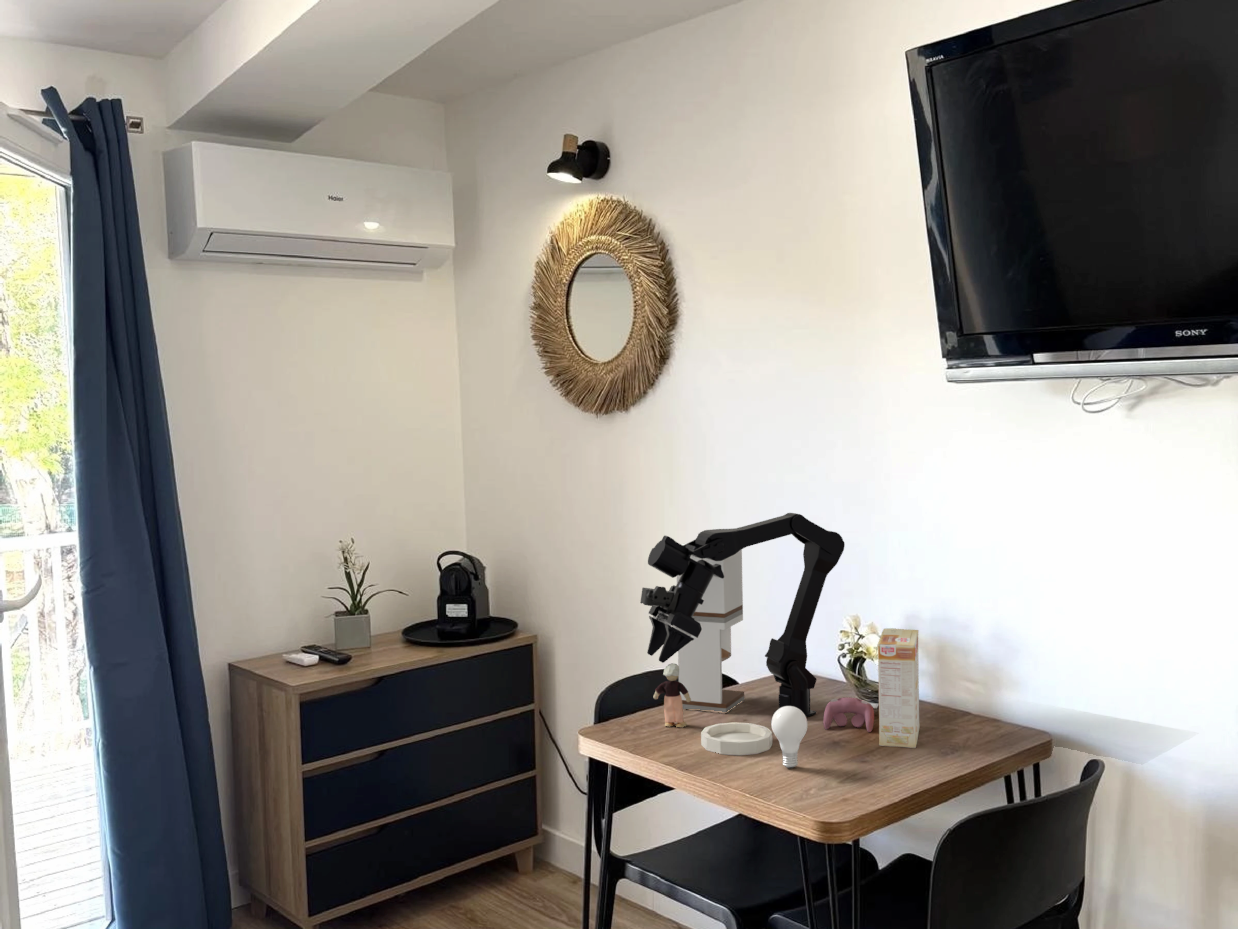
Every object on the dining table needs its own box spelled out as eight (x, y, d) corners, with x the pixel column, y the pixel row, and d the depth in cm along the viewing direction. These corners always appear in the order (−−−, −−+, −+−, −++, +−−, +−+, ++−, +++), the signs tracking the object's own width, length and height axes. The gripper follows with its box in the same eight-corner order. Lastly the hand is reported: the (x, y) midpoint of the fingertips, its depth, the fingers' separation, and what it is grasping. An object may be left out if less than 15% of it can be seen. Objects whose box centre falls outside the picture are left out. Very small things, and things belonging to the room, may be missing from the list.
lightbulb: (768, 763, 202) (767, 702, 202) (803, 761, 203) (802, 701, 202) (776, 774, 196) (775, 712, 195) (812, 772, 196) (811, 710, 196)
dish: (733, 730, 223) (733, 718, 223) (785, 744, 213) (785, 731, 213) (688, 745, 214) (688, 732, 214) (740, 759, 205) (739, 746, 204)
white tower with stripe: (726, 714, 235) (723, 547, 234) (679, 709, 240) (676, 545, 238) (744, 700, 246) (741, 541, 244) (698, 696, 250) (696, 539, 249)
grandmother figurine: (692, 723, 229) (690, 661, 229) (691, 728, 225) (690, 665, 225) (654, 722, 230) (653, 661, 229) (653, 728, 226) (651, 665, 226)
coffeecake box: (883, 724, 225) (883, 627, 224) (920, 726, 223) (919, 629, 222) (877, 746, 211) (876, 642, 210) (916, 748, 209) (915, 644, 208)
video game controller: (874, 736, 223) (876, 701, 225) (872, 731, 219) (873, 696, 221) (824, 732, 226) (826, 698, 229) (821, 728, 222) (823, 693, 225)
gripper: (645, 566, 233) (610, 633, 231) (668, 573, 215) (630, 646, 213) (691, 590, 235) (656, 658, 233) (717, 599, 217) (680, 672, 215)
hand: (655, 658), depth 224 cm, fingers open, 9 cm apart
